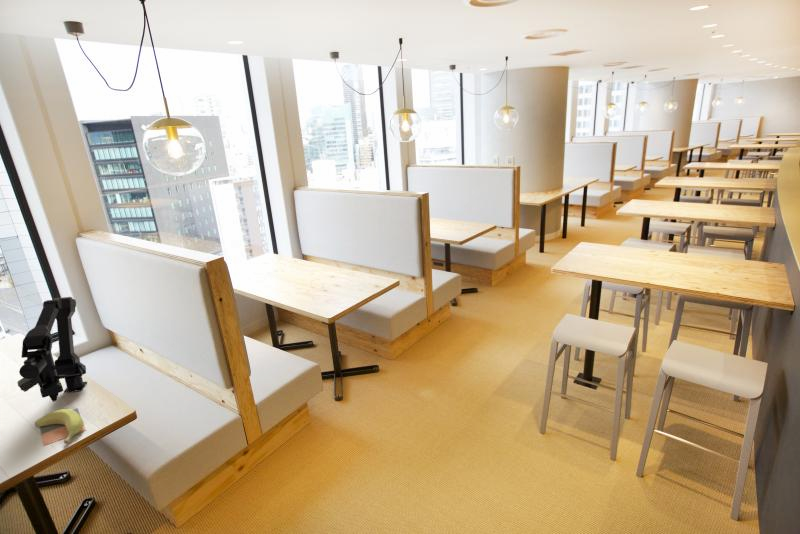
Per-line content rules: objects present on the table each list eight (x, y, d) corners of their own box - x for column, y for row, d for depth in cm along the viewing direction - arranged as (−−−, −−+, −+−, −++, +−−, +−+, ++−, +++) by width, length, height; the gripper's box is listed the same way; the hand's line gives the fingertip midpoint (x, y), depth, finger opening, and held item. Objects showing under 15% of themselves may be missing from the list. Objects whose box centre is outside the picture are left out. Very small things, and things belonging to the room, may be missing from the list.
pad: (41, 434, 155) (41, 434, 155) (81, 420, 162) (81, 419, 162) (43, 445, 149) (43, 445, 149) (85, 430, 157) (85, 429, 157)
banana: (73, 396, 164) (81, 427, 150) (80, 406, 167) (89, 437, 153) (30, 418, 157) (35, 452, 144) (39, 428, 160) (44, 462, 146)
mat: (38, 421, 162) (38, 421, 162) (77, 408, 169) (77, 408, 169) (41, 434, 155) (41, 434, 155) (81, 420, 162) (81, 419, 162)
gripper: (14, 363, 162) (25, 399, 166) (18, 383, 149) (29, 421, 153) (51, 353, 169) (61, 387, 174) (58, 371, 156) (68, 408, 161)
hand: (54, 400), depth 165 cm, fingers closed
